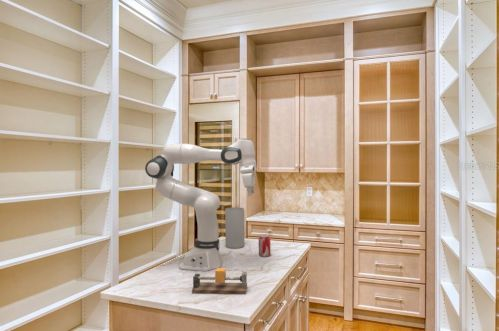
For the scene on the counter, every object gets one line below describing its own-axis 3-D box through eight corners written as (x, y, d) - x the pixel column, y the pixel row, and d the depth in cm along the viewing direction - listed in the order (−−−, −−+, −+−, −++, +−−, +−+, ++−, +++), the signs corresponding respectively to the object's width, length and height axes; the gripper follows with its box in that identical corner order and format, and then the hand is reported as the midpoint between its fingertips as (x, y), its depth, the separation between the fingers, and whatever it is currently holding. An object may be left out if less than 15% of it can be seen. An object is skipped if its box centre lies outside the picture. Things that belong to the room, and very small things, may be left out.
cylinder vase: (221, 246, 217) (221, 209, 217) (233, 243, 227) (233, 206, 227) (236, 249, 209) (235, 210, 209) (248, 245, 219) (247, 208, 219)
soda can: (256, 255, 196) (256, 235, 196) (264, 253, 201) (264, 233, 201) (264, 258, 191) (264, 237, 191) (272, 255, 196) (272, 235, 196)
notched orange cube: (215, 282, 142) (215, 271, 142) (216, 279, 147) (216, 267, 146) (224, 282, 142) (224, 271, 142) (225, 279, 146) (225, 267, 146)
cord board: (192, 293, 140) (191, 275, 140) (196, 285, 149) (196, 269, 149) (245, 294, 139) (245, 276, 139) (247, 286, 148) (247, 269, 148)
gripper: (245, 168, 185) (247, 193, 185) (239, 170, 165) (242, 197, 165) (256, 167, 184) (258, 192, 185) (252, 168, 164) (255, 196, 164)
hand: (251, 194), depth 175 cm, fingers open, 8 cm apart
